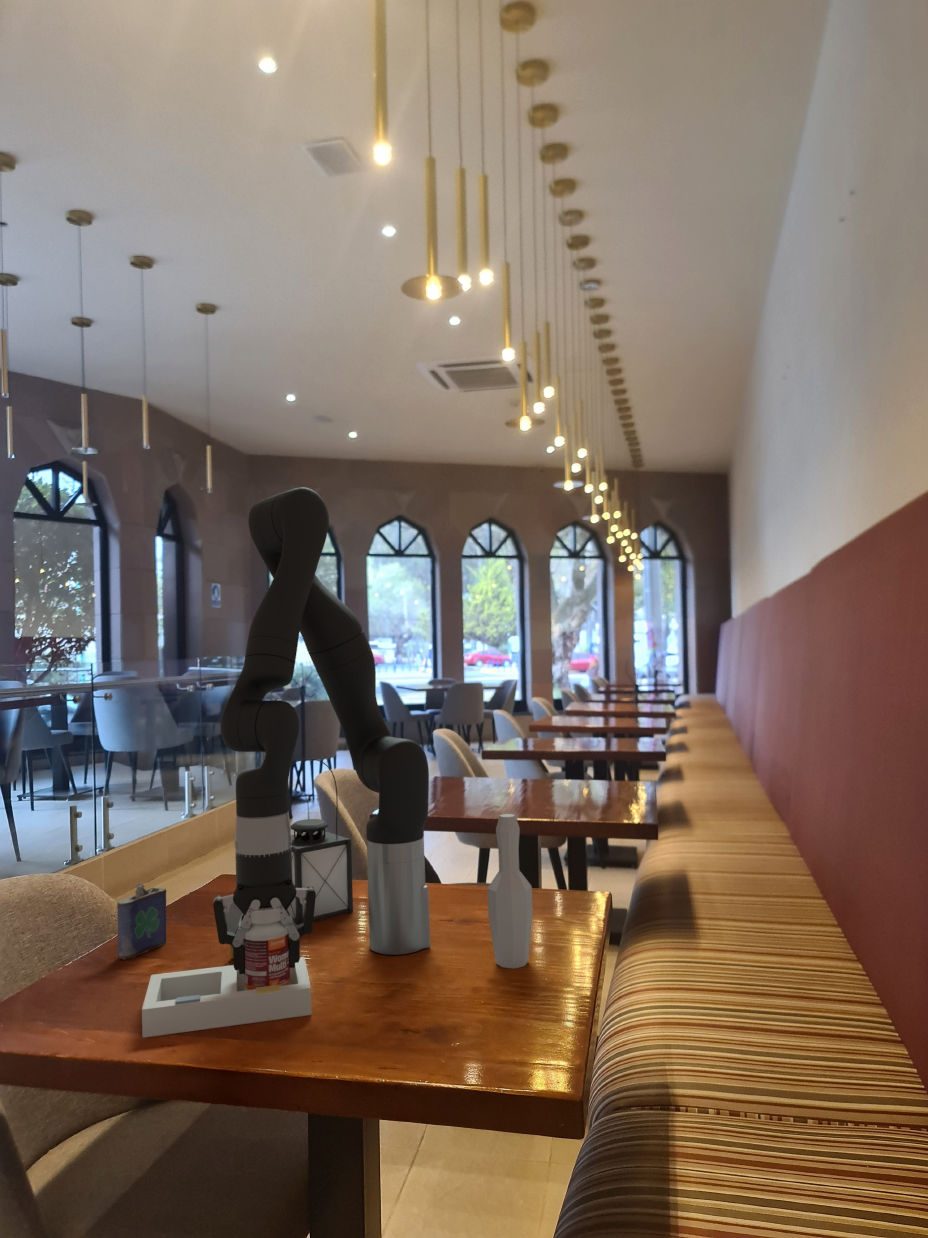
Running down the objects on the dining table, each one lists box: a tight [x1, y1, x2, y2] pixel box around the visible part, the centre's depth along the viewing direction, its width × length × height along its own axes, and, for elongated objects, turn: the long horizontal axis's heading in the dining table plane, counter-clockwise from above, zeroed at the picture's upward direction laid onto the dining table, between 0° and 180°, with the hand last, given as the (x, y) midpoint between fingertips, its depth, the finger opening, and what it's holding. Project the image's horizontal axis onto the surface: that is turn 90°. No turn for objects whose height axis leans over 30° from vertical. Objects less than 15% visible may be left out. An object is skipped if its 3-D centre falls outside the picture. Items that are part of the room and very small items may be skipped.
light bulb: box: [225, 893, 243, 958], centre depth 137 cm, size 6×6×10 cm
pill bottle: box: [243, 907, 290, 990], centre depth 120 cm, size 6×6×11 cm
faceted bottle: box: [487, 813, 533, 970], centre depth 131 cm, size 6×6×22 cm
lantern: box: [288, 757, 354, 926], centre depth 160 cm, size 11×11×28 cm
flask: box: [116, 882, 167, 961], centre depth 142 cm, size 9×3×11 cm, turn 151°
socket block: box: [141, 956, 312, 1039], centre depth 118 cm, size 21×12×4 cm, turn 104°
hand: (266, 968), depth 119 cm, fingers closed on pill bottle, 6 cm apart
